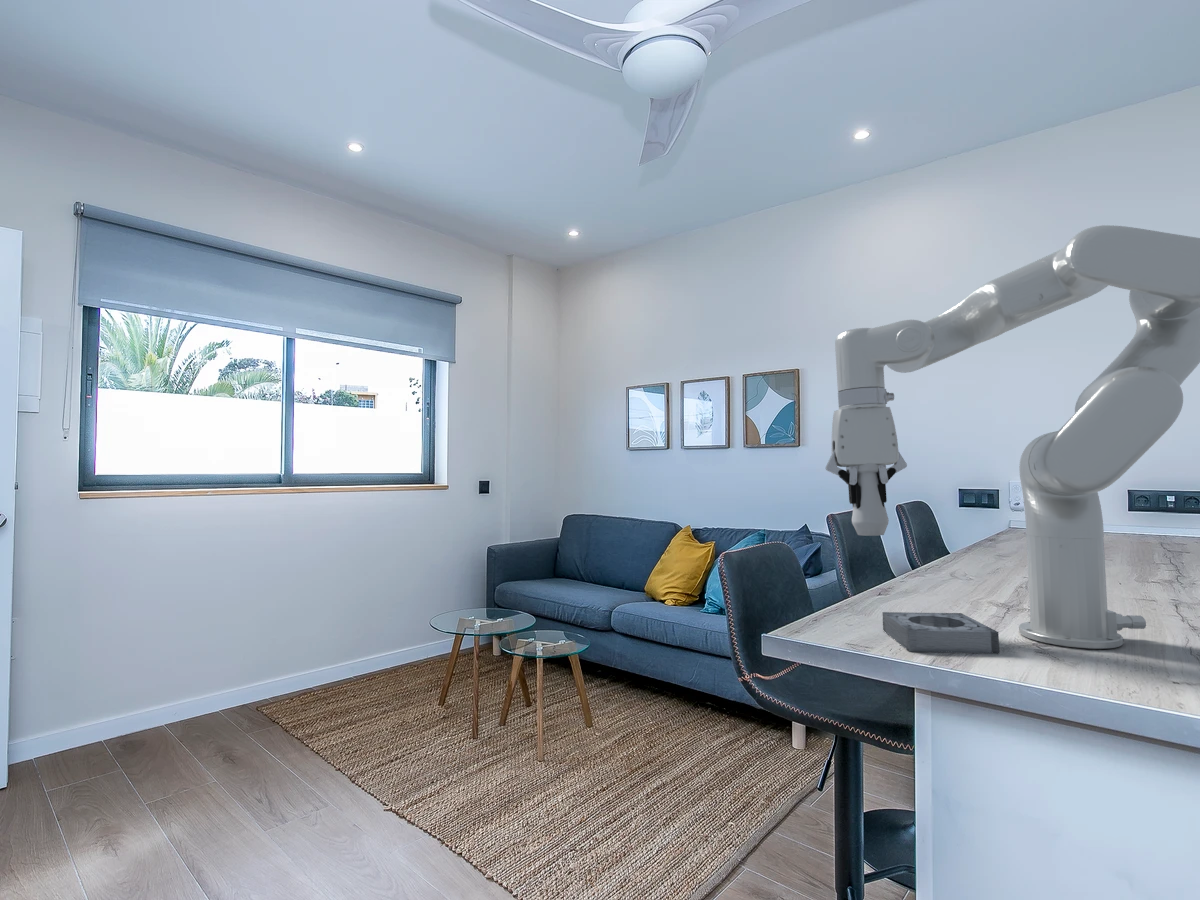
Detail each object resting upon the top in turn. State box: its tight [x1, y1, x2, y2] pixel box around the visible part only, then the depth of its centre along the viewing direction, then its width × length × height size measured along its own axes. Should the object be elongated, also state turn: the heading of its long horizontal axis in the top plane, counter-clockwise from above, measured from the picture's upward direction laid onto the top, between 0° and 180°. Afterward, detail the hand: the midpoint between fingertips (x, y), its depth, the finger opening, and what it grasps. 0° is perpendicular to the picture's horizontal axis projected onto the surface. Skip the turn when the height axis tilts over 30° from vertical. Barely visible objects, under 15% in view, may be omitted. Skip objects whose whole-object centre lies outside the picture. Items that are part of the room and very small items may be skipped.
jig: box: [882, 611, 1000, 654], centre depth 93 cm, size 12×12×3 cm
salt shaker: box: [851, 463, 889, 537], centre depth 105 cm, size 6×6×13 cm
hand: (868, 506), depth 105 cm, fingers closed on salt shaker, 3 cm apart
